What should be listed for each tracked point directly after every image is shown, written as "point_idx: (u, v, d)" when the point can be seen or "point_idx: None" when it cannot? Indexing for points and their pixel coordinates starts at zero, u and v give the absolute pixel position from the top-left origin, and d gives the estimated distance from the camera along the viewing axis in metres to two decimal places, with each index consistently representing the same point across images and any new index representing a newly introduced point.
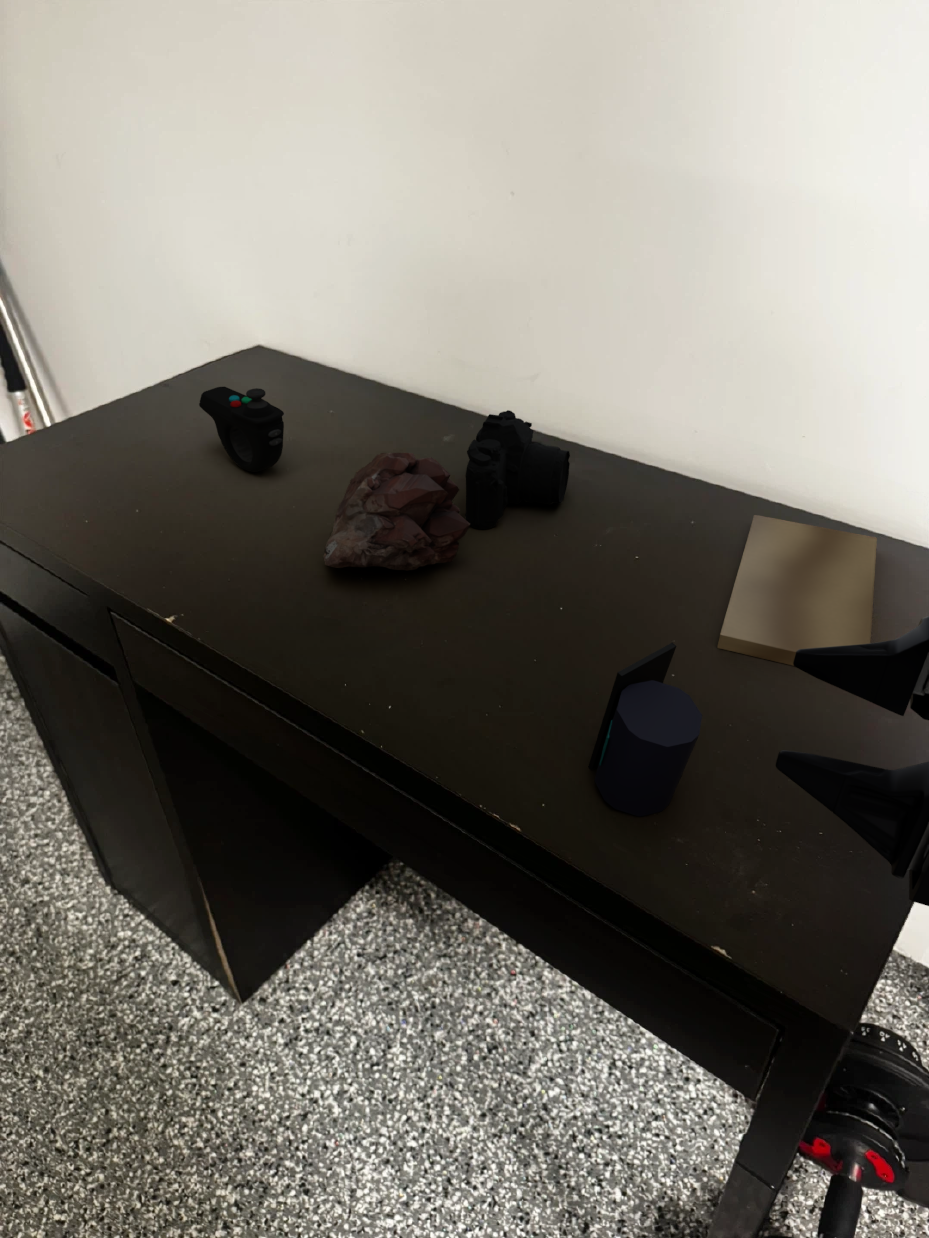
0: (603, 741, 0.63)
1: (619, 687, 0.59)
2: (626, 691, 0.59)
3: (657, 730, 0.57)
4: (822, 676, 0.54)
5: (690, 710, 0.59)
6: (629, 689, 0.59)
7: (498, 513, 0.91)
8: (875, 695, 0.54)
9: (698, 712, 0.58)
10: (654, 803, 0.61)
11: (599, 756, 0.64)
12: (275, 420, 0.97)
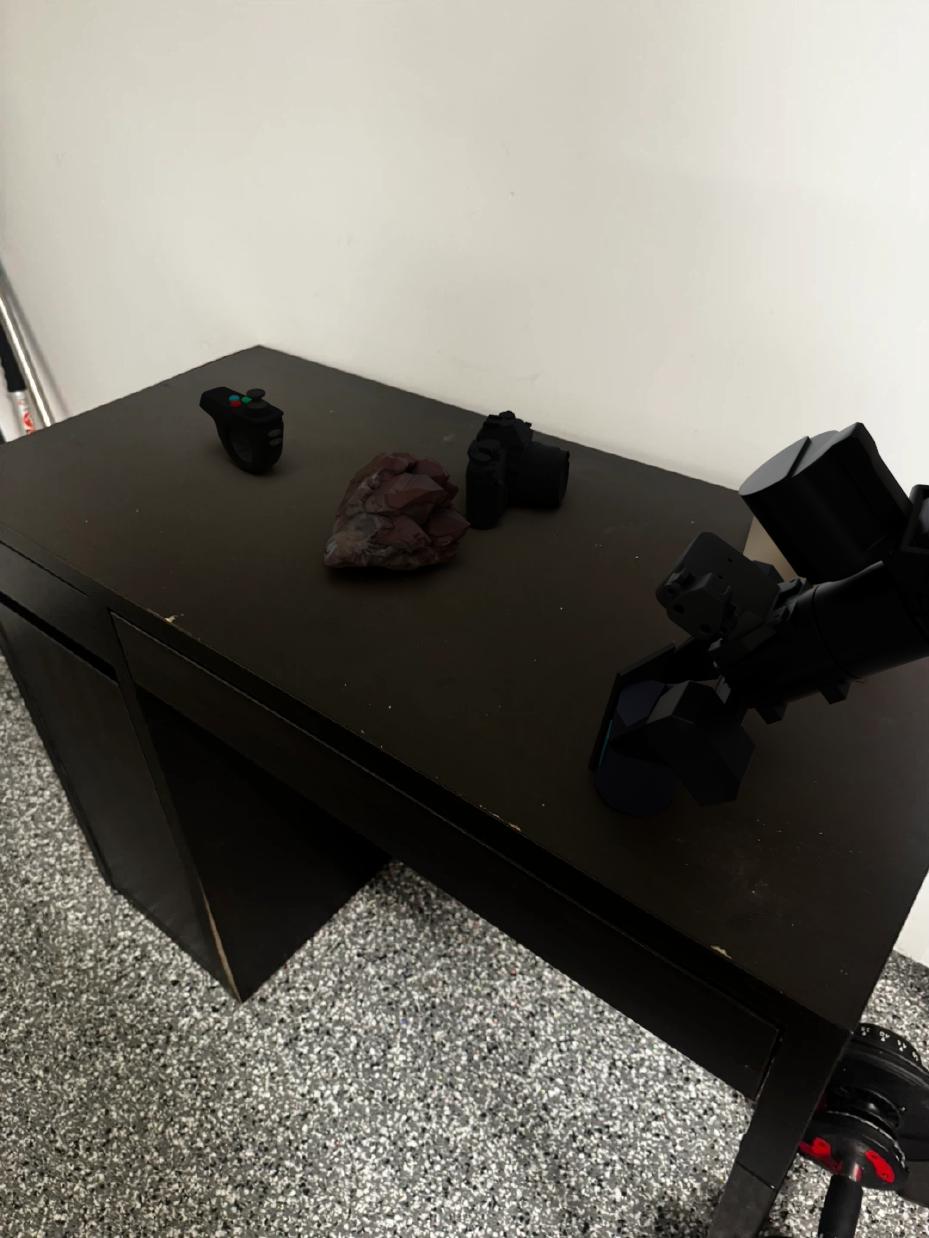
0: (603, 741, 0.63)
1: (619, 687, 0.59)
2: (626, 691, 0.59)
3: None
4: (678, 680, 0.62)
5: None
6: (629, 689, 0.59)
7: (498, 513, 0.91)
8: None
9: None
10: (653, 803, 0.61)
11: (599, 756, 0.64)
12: (275, 420, 0.97)
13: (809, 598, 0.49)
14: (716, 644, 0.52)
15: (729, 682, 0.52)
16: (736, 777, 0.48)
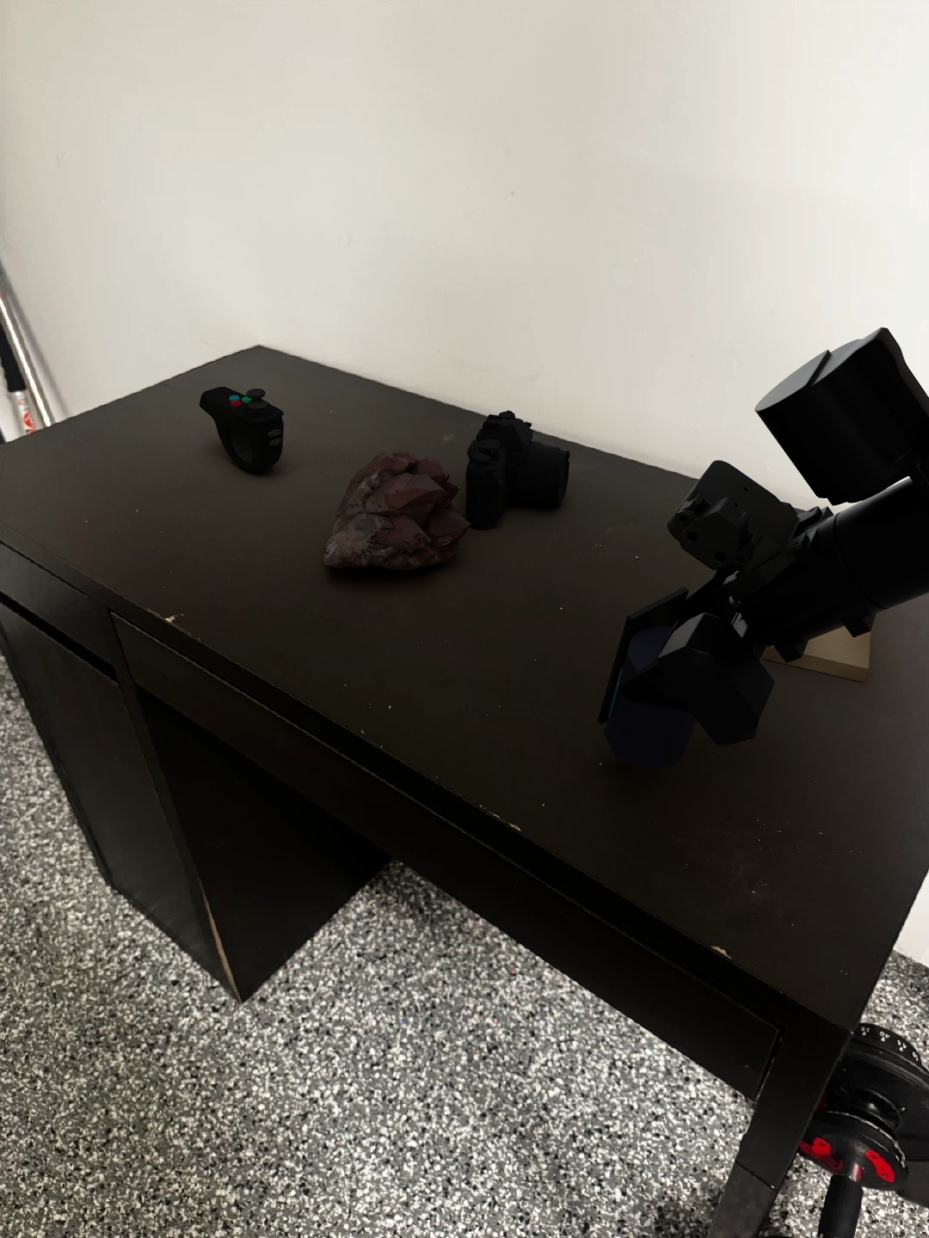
0: (613, 692, 0.60)
1: (629, 632, 0.56)
2: (636, 636, 0.56)
3: None
4: None
5: None
6: (640, 634, 0.57)
7: (498, 513, 0.91)
8: None
9: None
10: (666, 755, 0.58)
11: (609, 709, 0.62)
12: (275, 420, 0.97)
13: (831, 524, 0.46)
14: (732, 577, 0.49)
15: (746, 618, 0.49)
16: (754, 712, 0.45)
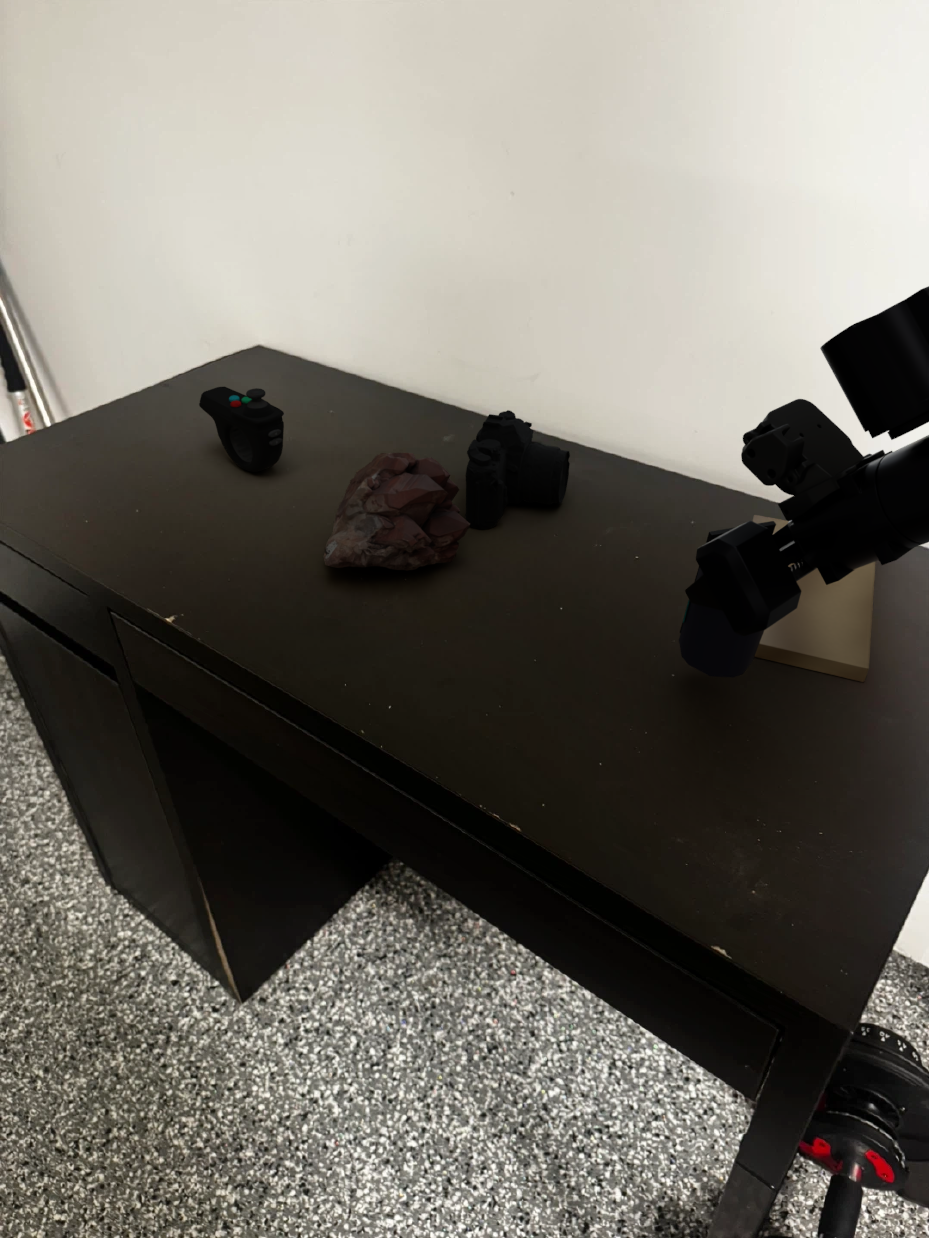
0: None
1: None
2: None
3: None
4: None
5: None
6: None
7: (498, 513, 0.91)
8: None
9: None
10: (724, 664, 0.65)
11: None
12: (275, 420, 0.97)
13: (878, 460, 0.52)
14: None
15: (795, 537, 0.56)
16: (767, 605, 0.52)
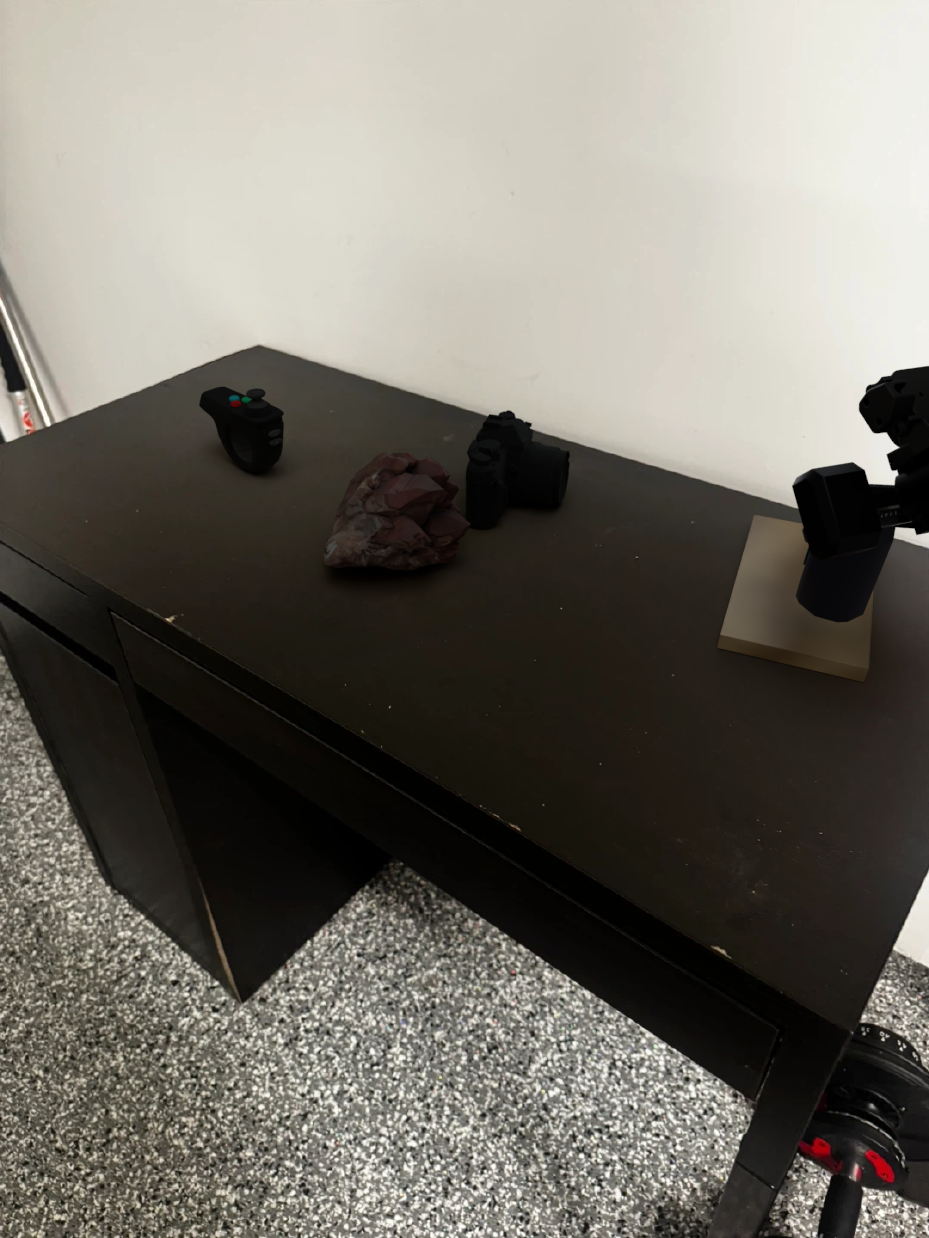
0: None
1: None
2: None
3: None
4: (904, 524, 0.70)
5: (885, 534, 0.68)
6: None
7: (498, 513, 0.91)
8: None
9: (891, 538, 0.67)
10: (828, 607, 0.72)
11: None
12: (275, 420, 0.97)
13: None
14: None
15: (896, 487, 0.62)
16: (839, 532, 0.59)
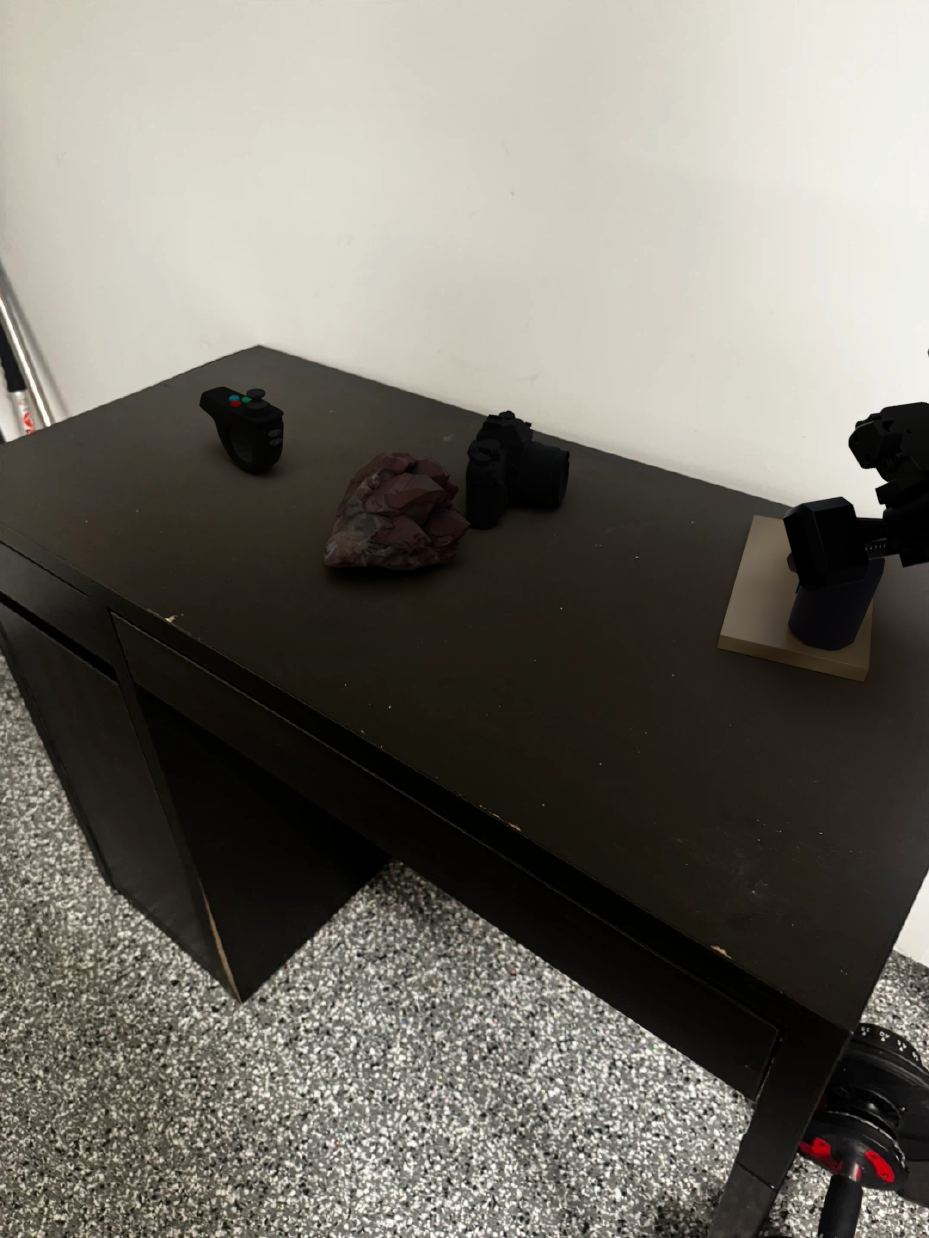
0: None
1: None
2: None
3: None
4: None
5: (875, 567, 0.70)
6: None
7: (498, 513, 0.91)
8: None
9: (881, 571, 0.69)
10: (819, 636, 0.73)
11: None
12: (275, 420, 0.97)
13: None
14: None
15: (884, 520, 0.64)
16: (828, 566, 0.61)
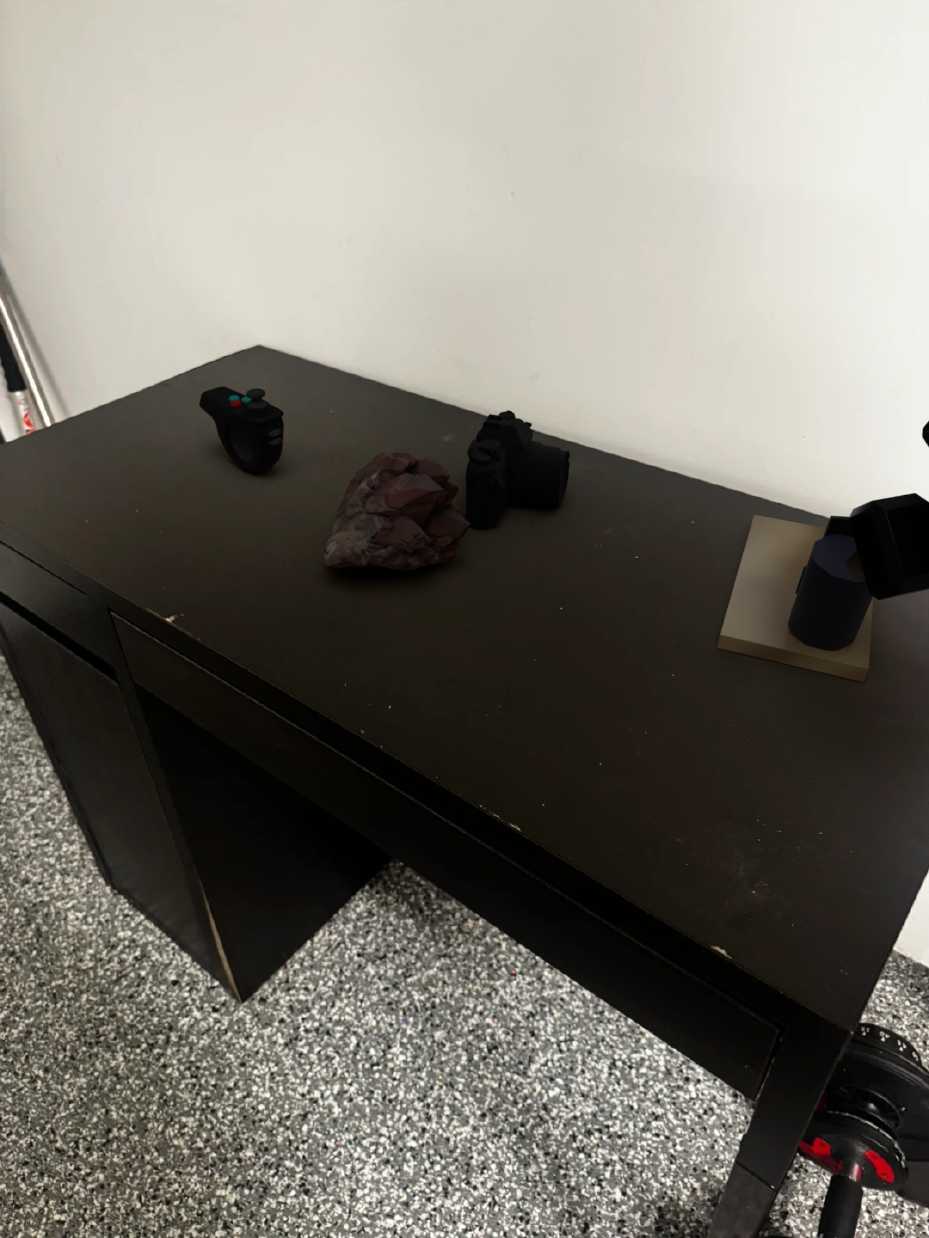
0: None
1: (829, 530, 0.72)
2: (834, 536, 0.72)
3: (834, 564, 0.70)
4: None
5: None
6: (837, 536, 0.72)
7: (498, 513, 0.91)
8: None
9: None
10: (819, 636, 0.73)
11: None
12: (275, 420, 0.97)
13: None
14: None
15: None
16: (903, 571, 0.54)
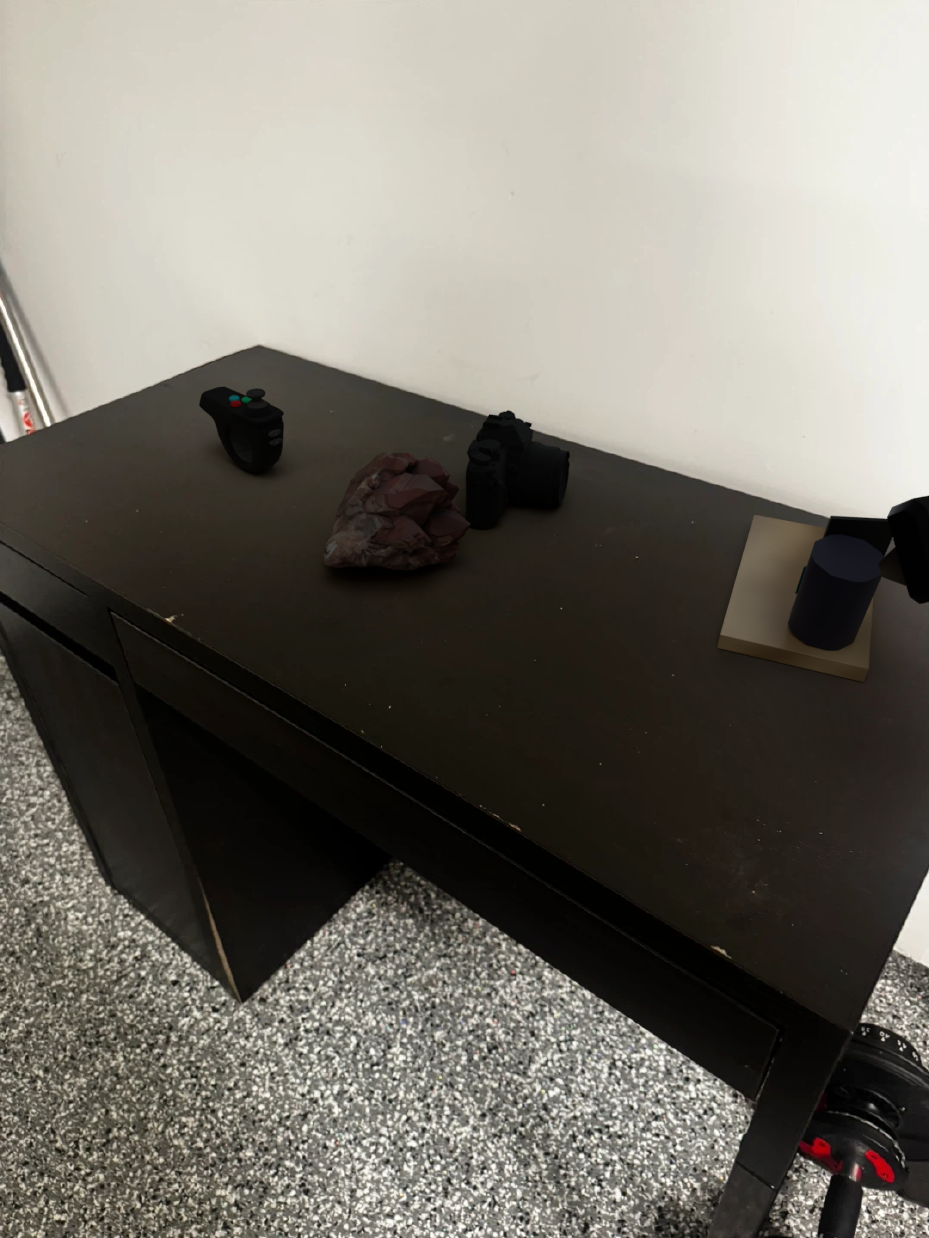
0: None
1: (829, 530, 0.72)
2: (834, 536, 0.72)
3: (834, 564, 0.70)
4: None
5: (875, 567, 0.70)
6: (837, 536, 0.72)
7: (498, 513, 0.91)
8: None
9: None
10: (819, 636, 0.73)
11: None
12: (275, 420, 0.97)
13: None
14: None
15: None
16: None
